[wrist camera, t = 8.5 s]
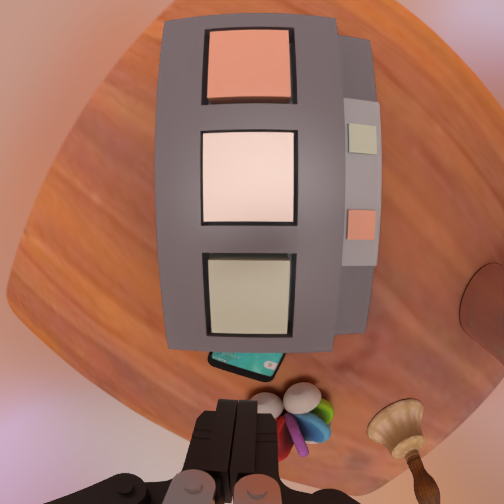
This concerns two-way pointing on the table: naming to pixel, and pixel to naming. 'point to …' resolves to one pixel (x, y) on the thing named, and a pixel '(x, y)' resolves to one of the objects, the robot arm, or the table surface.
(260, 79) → the key terracotta
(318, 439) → the rainbow petal flower toy
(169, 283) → the keypad
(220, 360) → the smartphone
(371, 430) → the hand bell
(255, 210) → the key cream
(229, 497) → the robot arm
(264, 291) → the key sage
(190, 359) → the table surface
